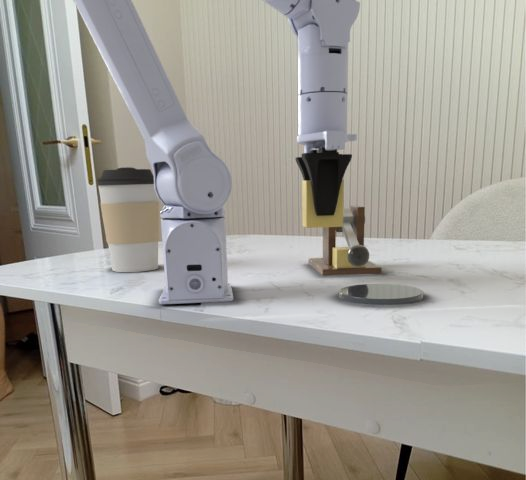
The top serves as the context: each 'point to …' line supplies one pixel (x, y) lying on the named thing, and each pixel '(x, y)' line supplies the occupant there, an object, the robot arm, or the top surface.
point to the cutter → (329, 242)
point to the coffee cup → (130, 218)
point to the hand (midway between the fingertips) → (322, 214)
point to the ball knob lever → (353, 241)
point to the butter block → (342, 258)
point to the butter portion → (310, 215)
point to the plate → (381, 294)
